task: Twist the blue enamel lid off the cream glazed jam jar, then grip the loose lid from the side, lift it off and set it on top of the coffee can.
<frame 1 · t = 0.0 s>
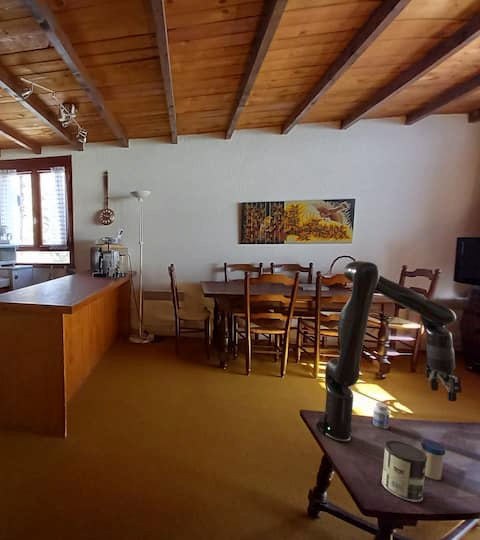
hand: (443, 395, 120), 22 cm above the table, tool pointing down, fingers open, 8 cm apart
pill bottle: (380, 425, 137), on the table
jar: (430, 474, 108), on the table
coffee can: (401, 489, 102), on the table
lid: (433, 446, 107), point 11 cm above the table, screwed on, not yet turned
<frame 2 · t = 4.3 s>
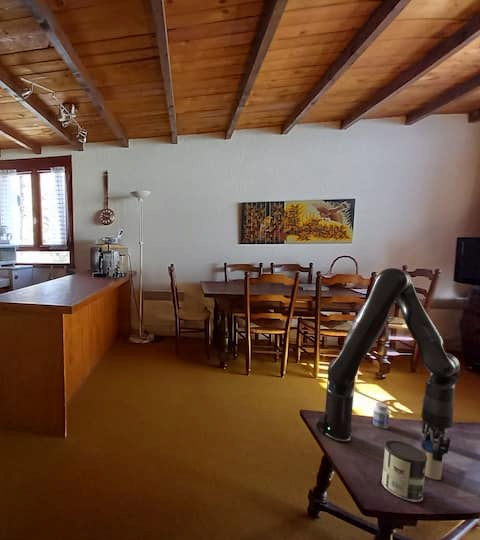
hand: (432, 454, 108), 8 cm above the table, tool pointing down, fingers closed on lid, 5 cm apart
lid: (433, 446, 107), point 11 cm above the table, screwed on, not yet turned, touching gripper
everything else where it was.
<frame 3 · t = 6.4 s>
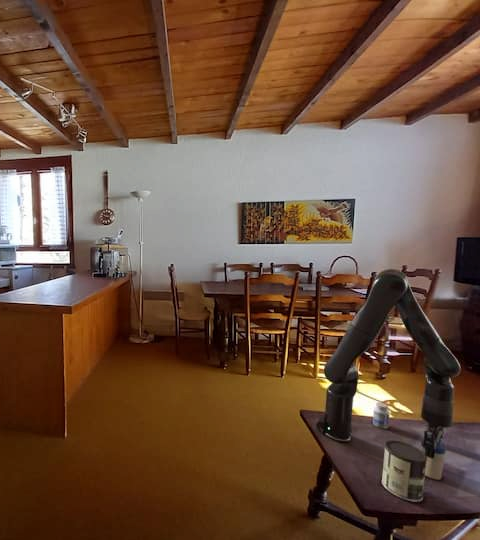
hand: (432, 453, 108), 8 cm above the table, tool pointing down, fingers closed on lid, 5 cm apart
jar: (430, 473, 108), on the table, touching gripper
lid: (433, 444, 108), point 11 cm above the table, off its thread, touching gripper
everything else where it was.
when the fingers open (7 cm above the table, at t = 7.1 s): lid stays where it is, resting on jar.
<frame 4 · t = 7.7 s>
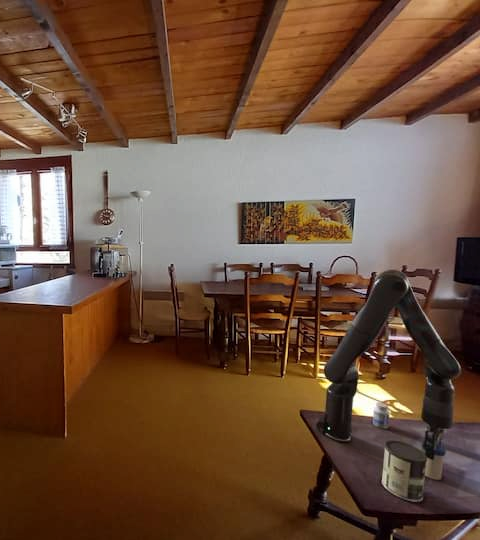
hand: (432, 453, 108), 8 cm above the table, tool pointing down, fingers open, 8 cm apart
jar: (430, 474, 108), on the table, touching lid
lid: (433, 446, 107), point 11 cm above the table, off its thread, touching jar
everything else where it was.
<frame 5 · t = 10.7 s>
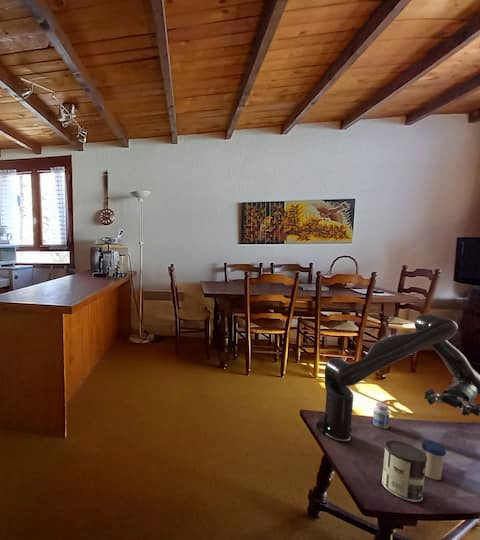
hand: (446, 407, 112), 22 cm above the table, tool horizontal, fingers open, 8 cm apart
nothing on the table moved.
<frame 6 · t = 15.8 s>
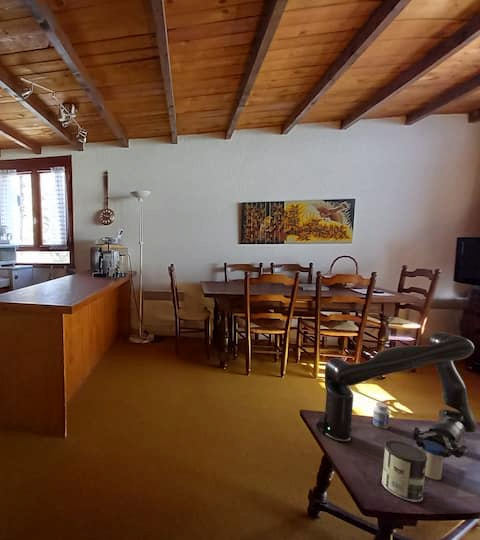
hand: (431, 449, 106), 10 cm above the table, tool horizontal, fingers closed on lid, 5 cm apart
lid: (433, 446, 107), point 11 cm above the table, off its thread, touching gripper, jar
everything else where it was.
when the fingers open (15 cm above the table, at t = 23.0 s): lid stays where it is, resting on coffee can.
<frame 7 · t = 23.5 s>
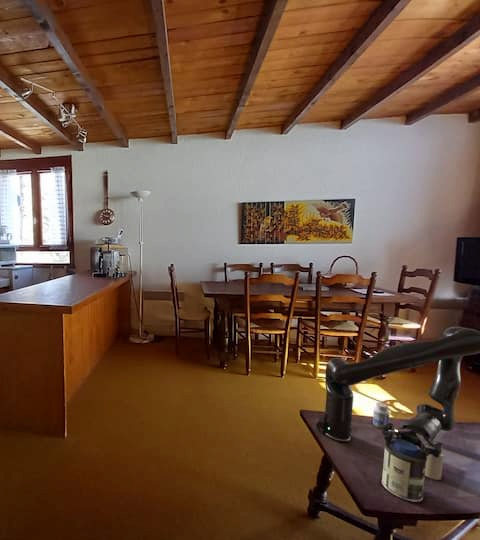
hand: (403, 446, 99), 16 cm above the table, tool horizontal, fingers open, 8 cm apart
jar: (430, 474, 108), on the table
coffee can: (401, 489, 102), on the table, touching lid
lid: (405, 445, 100), point 16 cm above the table, off its thread, touching coffee can
everything else where it was.
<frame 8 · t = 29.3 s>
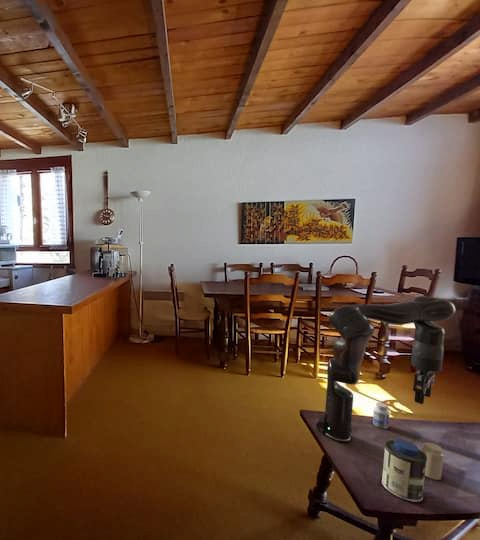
hand: (422, 399, 106), 28 cm above the table, tool pointing down, fingers open, 8 cm apart
nothing on the table moved.
at the end: lid inside the target area on the coffee can (0.1 cm from its centre), point 15.8 cm above the coffee can's base; lid tilted 0°; the gripper is holding nothing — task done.
